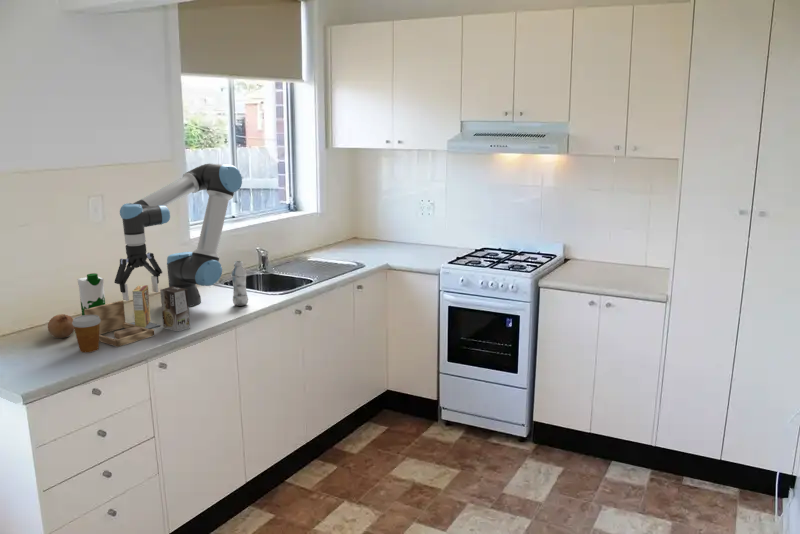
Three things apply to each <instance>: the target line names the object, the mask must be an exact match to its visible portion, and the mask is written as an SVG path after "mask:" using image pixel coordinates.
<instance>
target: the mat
mask: <svg viewBox="0 0 800 534" xmlns="http://www.w3.org/2000/svg"><path fill="white" fill-rule="evenodd" d="M130 324H133V325H135V321H134V322H130ZM159 327H161V324H159V323H154V322H152V321H150V322H149V323H148V324H147V326H146V327H144V328H147V329H156V328H159Z"/></svg>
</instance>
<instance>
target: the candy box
mask: <svg viewBox="0 0 800 534" xmlns="http://www.w3.org/2000/svg"><path fill="white" fill-rule="evenodd" d="M131 293H132V301H133V318H134V322H135V325H137V326H140V327H146V326H147V324H148V323H149V322H152V321H151V320H152V319H151V311H150V309H151V308H150V296H149V295H150V294H149V285H143V284H142V285H139V284H138V285H136V287H135V288H134V289H133V290H132V292H131Z"/></svg>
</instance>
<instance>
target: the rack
mask: <svg viewBox="0 0 800 534" xmlns="http://www.w3.org/2000/svg"><path fill="white" fill-rule="evenodd" d="M124 301H125V300H123V299H120V300H117V301H113V302H109V303H105V305H101V306H97V307H93V308H89V309H85V310H84V313H85V315H98V316H99V318H100V319H101V321H100V329H99V342H101V343H104V344H108V345H111V346H114V347H117V348H119V347H122V346H125V345H128V344H131V343H135V342H139V341H141V340H144V339H147V338H150V337H154V336H155V328H153V329H147V328H144V327H140V326H137V325H133V324H130V323H131V322H130V323H128V322H126V315H125V304H124V303H125V302H124ZM135 326H137V327H139V328H142V332H140V333H136V334H133V335H130V336H126V337H123V338H120V339H116V340H115V339H114V338H112V337H109V336H106V335H103V334H106V333H110V332H115V331H118V330H120V329H121V330H122V329H127V328H131V327H135Z"/></svg>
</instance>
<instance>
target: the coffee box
mask: <svg viewBox="0 0 800 534" xmlns="http://www.w3.org/2000/svg"><path fill="white" fill-rule="evenodd" d="M160 302H161V313H162V325H163V329H166V330H171V331H174V332H181V331H183V330H187V329H190V327H191V325H190V312H189V310H190V309H189V307H188V295H187V289H184V288H179V287H174V286H172V287H169V286H168V287H166V288H161V289H160Z"/></svg>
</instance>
